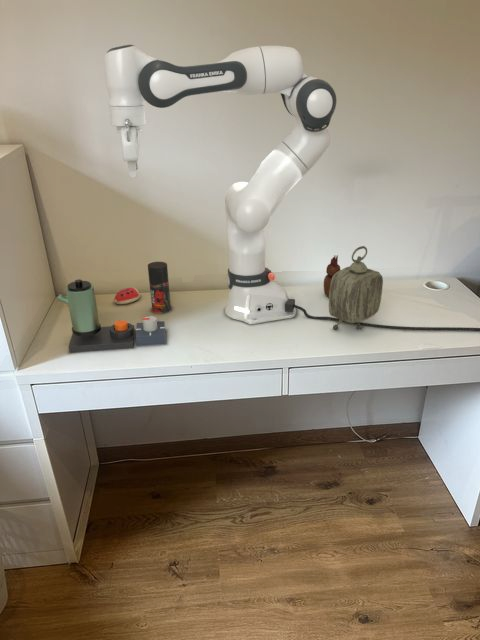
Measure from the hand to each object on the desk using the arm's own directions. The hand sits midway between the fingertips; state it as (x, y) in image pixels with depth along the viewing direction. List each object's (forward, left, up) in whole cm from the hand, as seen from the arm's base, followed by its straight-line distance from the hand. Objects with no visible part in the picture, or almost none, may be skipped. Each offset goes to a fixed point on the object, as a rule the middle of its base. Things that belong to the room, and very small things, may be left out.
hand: (134, 173), depth 146 cm
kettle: (+18, +11, -40) cm, 45 cm away
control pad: (-1, +12, -44) cm, 45 cm away
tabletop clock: (-61, +14, -44) cm, 76 cm away
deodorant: (-4, -8, -44) cm, 45 cm away
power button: (+7, +12, -40) cm, 43 cm away
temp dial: (-1, +12, -41) cm, 43 cm away
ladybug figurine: (+7, -17, -44) cm, 48 cm away
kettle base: (+13, +12, -44) cm, 47 cm away
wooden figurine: (-61, -10, -44) cm, 76 cm away
